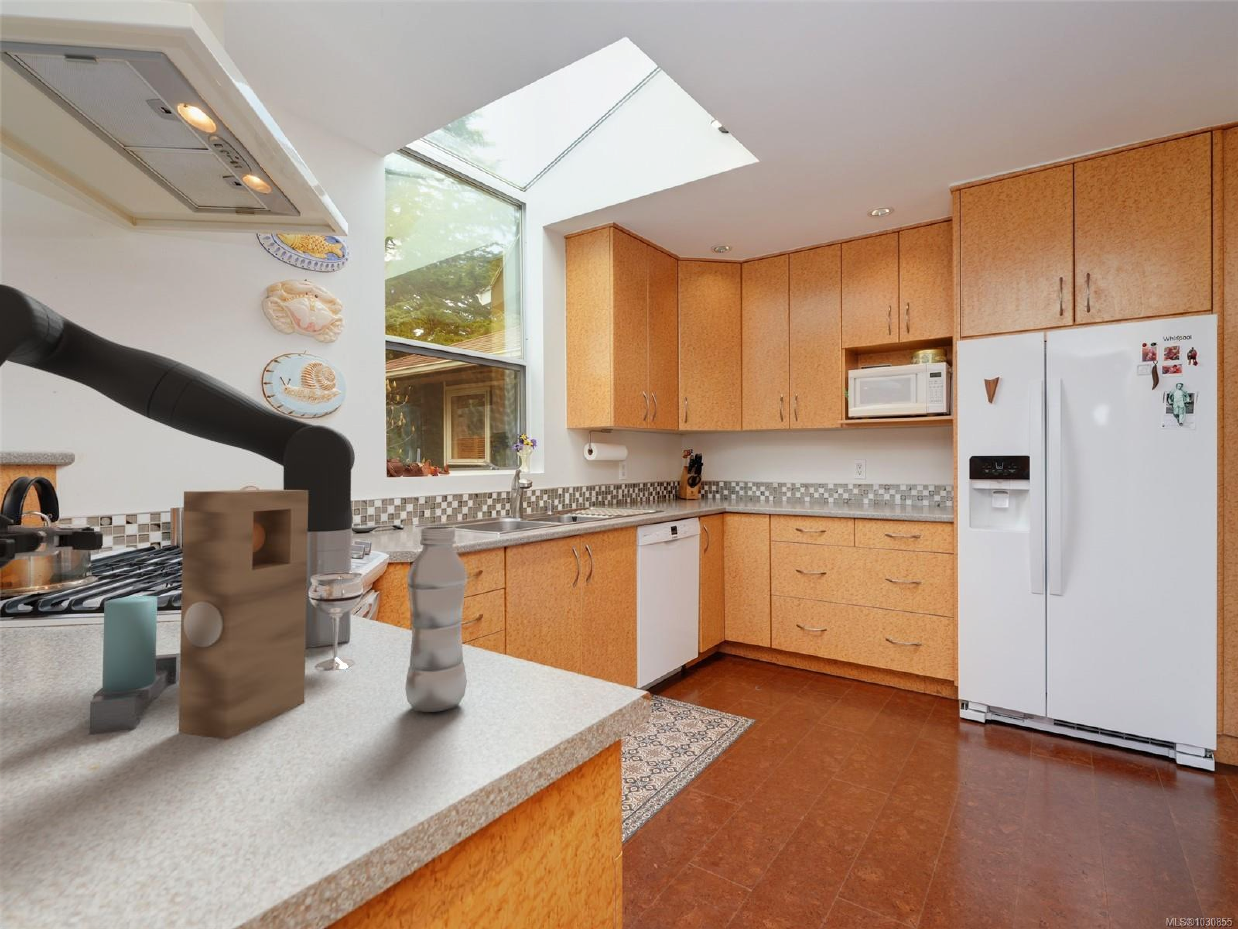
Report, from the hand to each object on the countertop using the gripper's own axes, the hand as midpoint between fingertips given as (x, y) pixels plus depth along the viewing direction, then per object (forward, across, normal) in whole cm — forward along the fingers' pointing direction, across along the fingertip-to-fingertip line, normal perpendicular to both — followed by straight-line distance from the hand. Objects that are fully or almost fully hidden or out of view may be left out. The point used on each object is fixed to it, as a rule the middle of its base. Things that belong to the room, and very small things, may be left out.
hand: (58, 545), depth 67 cm
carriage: (+11, 0, +16) cm, 19 cm away
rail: (+8, +2, +18) cm, 20 cm away
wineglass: (+20, +20, +18) cm, 34 cm away
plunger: (+20, +3, +1) cm, 20 cm away
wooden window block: (+23, +3, +18) cm, 29 cm away
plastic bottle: (+41, +10, +19) cm, 46 cm away
